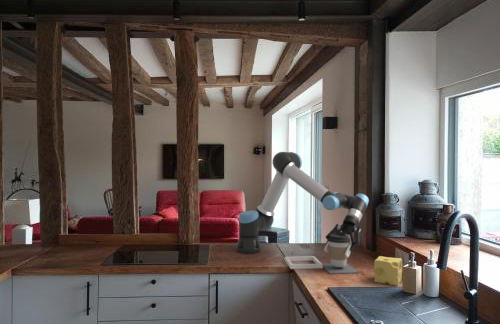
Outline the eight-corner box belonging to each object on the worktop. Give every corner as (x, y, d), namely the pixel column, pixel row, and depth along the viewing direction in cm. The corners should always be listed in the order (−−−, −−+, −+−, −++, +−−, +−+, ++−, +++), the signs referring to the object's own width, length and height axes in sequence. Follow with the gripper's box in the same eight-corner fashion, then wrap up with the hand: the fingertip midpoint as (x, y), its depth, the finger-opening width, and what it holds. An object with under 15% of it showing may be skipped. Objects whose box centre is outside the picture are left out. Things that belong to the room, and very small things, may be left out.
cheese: (398, 286, 161) (398, 263, 161) (372, 282, 166) (372, 259, 166) (402, 280, 169) (402, 258, 169) (378, 276, 175) (378, 254, 175)
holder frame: (284, 260, 202) (284, 256, 202) (314, 259, 204) (314, 256, 204) (290, 268, 186) (290, 264, 186) (322, 268, 188) (322, 264, 188)
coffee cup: (354, 265, 187) (354, 235, 187) (343, 269, 178) (344, 238, 178) (333, 260, 194) (334, 232, 194) (322, 265, 186) (323, 235, 186)
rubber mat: (320, 264, 194) (320, 263, 194) (346, 264, 195) (346, 263, 195) (330, 274, 178) (330, 272, 178) (358, 273, 179) (358, 272, 179)
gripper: (376, 226, 189) (360, 262, 178) (335, 221, 206) (319, 253, 195) (370, 217, 185) (354, 253, 174) (330, 212, 202) (313, 245, 191)
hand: (335, 253), depth 185 cm, fingers closed on coffee cup, 11 cm apart
